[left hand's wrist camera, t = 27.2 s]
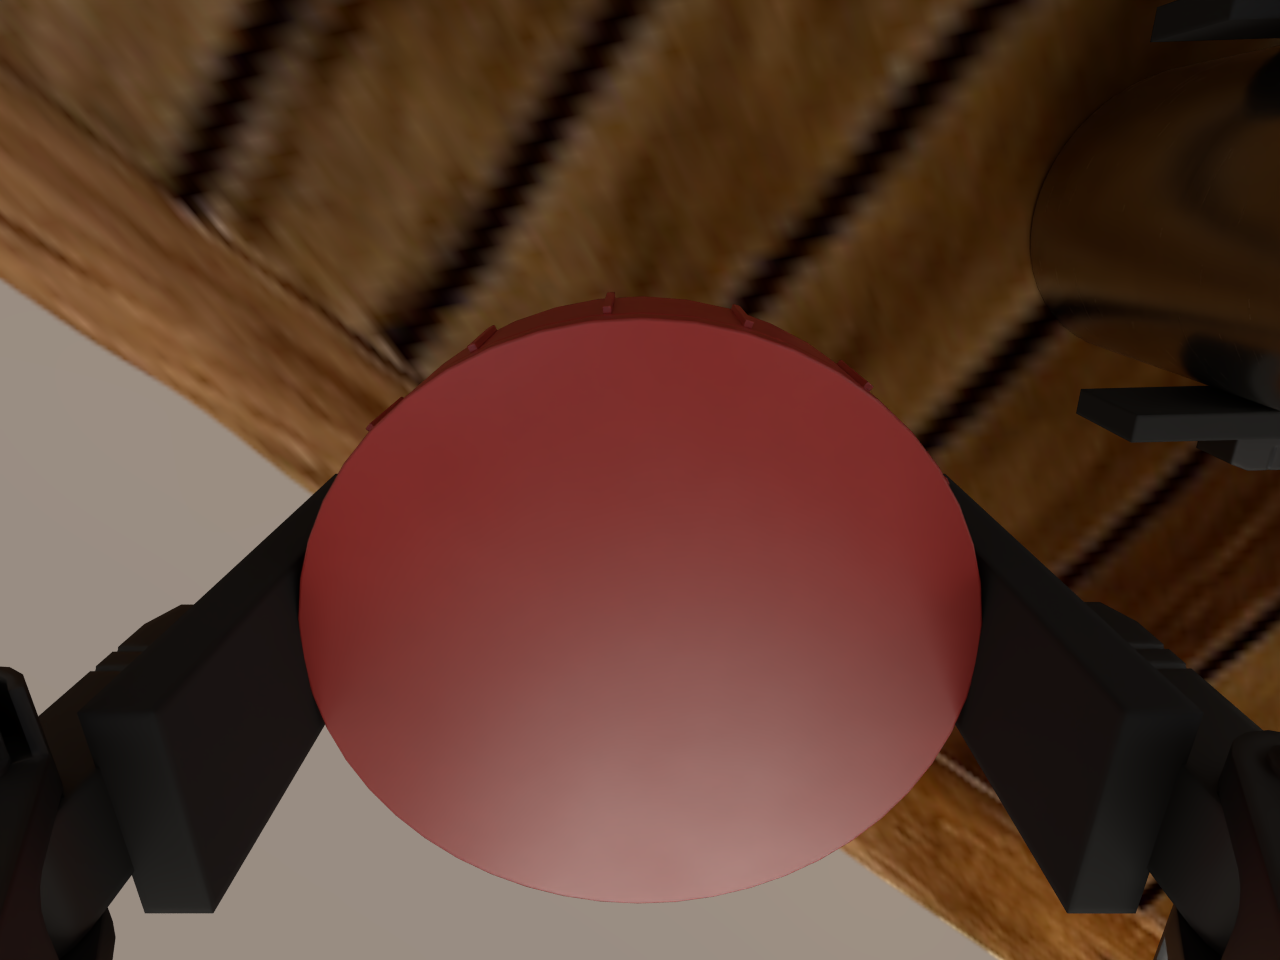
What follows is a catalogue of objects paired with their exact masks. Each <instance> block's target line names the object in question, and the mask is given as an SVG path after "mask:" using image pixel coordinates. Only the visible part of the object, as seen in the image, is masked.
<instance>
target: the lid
mask: <svg viewBox="0 0 1280 960" xmlns="http://www.w3.org/2000/svg"><path fill="white" fill-rule="evenodd" d="M872 388H873V386H872V385H871V384H870V383H869V382H867V381H866V380H865V379H864V378H863V377H861V376H860V375H859V374H858V373H857V372H855V371H854V370H853V369H852V368H850V367H849V366H848V365H847V364H846V363H844V362H843V361H842V360H840V361H839V362H838V363H837V364H836V363H835V362H833V361H832V360H830V359H829V358H828V357H826V356H825V355H824V354H822V353H821V352H819V351H818V350H817V349H815V348H814V347H812V346H811V345H810V344H808V343H807V342H805V341H803V340H801V339H799V338H797V337H795V336H793V335H791V334H789V333H788V332H786V331H784V330H782V329H780V328H778V327H776V326H774V325H772V324H770V323H768V322H765V321H762V320H759V319H757V318H754V317H751V316H748V315H747V314H746V313H745V312H744V310H743V309H742V308H741V307H740V306H738V305H734V304H733V305H732V308H731V309H728V308H723V307H719V306H714V305H709V304H705V303H700V302H695V301H690V300H684V299H670V298H657V297H643V296H642V297H625V298H615V292H608V293H607V295H606V298H605V299H596V300H591V301H586V302H581V303H576V304H571V305H566V306H561V307H556V308H553V309H550V310H547V311H544V312H541V313H538V314H535V315H532V316H529V317H526V318H523V319H521V320H518V321H515V322H513V323H511V324H509V325H507V326H505V327H503V328H501V329H499V330H497V329H496V327H495V325H493V326H491V327H489V328H487V329H486V330H485V331H484V332H483V333H482V334H481V335H480V336H478V337H477V338H476V339H475V340H474V341H473V342H472V343H471V344H469V345H468V346H467V348H466V349H464V350H463V351H461V352H460V353H458V354H457V355H455V356H454V357H453V358H451V359H450V360H448V361H447V362H445V363H444V364H443V365H442V366H440V367H439V368H438V369H437V370H436V371H435V372H433V373H432V374H431V375H430V376H429V377H428V378H427V379H425V380H424V381H423V382H422V383H421V384H420V385H418V386H417V387H416V388H415V389H414V390H413V391H412V392H410V393H409V394H408V395H407V396H406V397H405V398H403V397H400V398H399V399H398V400H397V401H396V402H395V403H393V404H392V405H391V406H390V407H389V408H387V409H386V410H385V411H384V412H383V413H382V414H380V415H379V416H378V417H377V418H376V419H375V420H373V421H372V422H371V423H370V424H369V425H368V426H367V428H366V430H368V431H369V432H368V434H367V435H366V436H365V437H364V439H363V440H362V441H361V442H360V444H359V445H358V446H357V448H356V449H355V450H354V451H353V453H352V454H351V455H350V456H349V458H348V459H347V460H346V461H345V463H344V464H343V466H342V468H341V469H340V471H339V473H338V475H337V477H336V478H335V480H334V482H333V484H332V485H331V487H330V489H329V491H328V492H327V494H326V496H325V498H324V499H323V501H322V504H321V507H320V509H319V512H318V515H317V517H316V520H315V523H314V525H313V528H312V531H311V533H310V536H309V539H308V543H307V548H306V553H305V558H304V563H303V567H302V572H301V577H300V594H299V616H298V620H299V629H300V636H301V642H302V647H303V653H304V659H305V663H306V668H307V673H308V677H309V682H310V687H311V691H312V694H313V697H314V699H315V701H316V704H317V706H318V708H319V711H320V713H321V715H322V718H323V720H324V722H325V725H326V727H327V729H328V731H329V732H330V734H331V736H332V737H333V739H334V741H335V742H336V744H337V746H338V747H339V749H340V751H341V752H342V754H343V756H344V757H345V759H346V761H347V762H348V763H349V764H350V766H351V767H352V768H353V769H354V771H355V772H356V773H357V774H358V776H359V777H360V778H361V779H362V781H363V782H364V783H365V785H366V786H367V787H368V788H369V789H370V790H371V791H372V792H373V793H374V794H375V795H376V796H377V797H378V798H379V799H380V800H381V801H382V802H383V803H384V804H385V805H386V806H387V807H388V808H389V809H390V810H391V811H392V812H393V813H394V814H395V815H396V816H397V817H399V818H400V819H401V820H402V821H404V822H405V823H406V824H408V825H409V826H410V827H411V828H413V829H414V830H415V831H417V832H418V833H419V834H420V835H422V836H423V837H424V838H426V839H427V840H429V841H430V842H432V843H434V844H435V845H437V846H439V847H440V848H442V849H444V850H445V851H447V852H448V853H450V854H452V855H453V856H455V857H457V858H458V859H461V860H463V861H465V862H467V863H469V864H471V865H473V866H475V867H477V868H480V869H482V870H484V871H486V872H488V873H490V874H493V875H495V876H498V877H501V878H504V879H506V880H509V881H512V882H515V883H518V884H520V885H523V886H526V887H530V888H534V889H538V890H542V891H546V892H550V893H554V894H558V895H562V896H568V897H575V898H581V899H588V900H595V901H603V902H622V903H658V902H678V901H685V900H692V899H699V898H707V897H714V896H718V895H722V894H726V893H731V892H735V891H739V890H743V889H747V888H751V887H754V886H757V885H760V884H763V883H766V882H769V881H772V880H774V879H777V878H780V877H783V876H786V875H788V874H790V873H792V872H795V871H797V870H799V869H801V868H803V867H805V866H808V865H810V864H812V863H814V862H816V861H818V860H820V859H822V858H824V857H825V856H827V855H829V854H830V853H832V852H834V851H835V850H837V849H839V848H840V847H842V846H844V845H845V844H847V843H849V842H851V841H852V840H853V839H855V838H856V837H857V836H859V835H860V834H861V833H863V832H864V831H865V830H867V829H868V828H869V827H871V826H872V825H873V824H875V823H876V822H877V821H879V820H880V819H881V818H882V817H883V816H884V815H885V814H886V813H888V812H889V811H890V810H891V809H892V808H893V807H894V806H895V805H896V804H897V803H898V802H899V801H900V800H901V799H902V798H903V797H904V796H905V795H906V794H907V793H908V792H909V791H910V790H911V789H912V787H913V786H914V785H915V784H916V783H917V781H918V780H919V779H920V778H921V776H922V775H923V774H924V773H925V772H926V770H927V769H928V768H929V767H930V765H931V764H932V763H933V761H934V760H935V758H936V756H937V755H938V753H939V751H940V750H941V748H942V747H943V745H944V743H945V742H946V740H947V739H948V737H949V735H950V734H951V732H952V730H953V728H954V725H955V723H956V721H957V719H958V717H959V714H960V712H961V710H962V708H963V705H964V703H965V701H966V699H967V695H968V692H969V688H970V685H971V680H972V676H973V671H974V666H975V662H976V656H977V651H978V645H979V640H980V634H981V627H982V607H981V581H980V576H979V571H978V565H977V560H976V554H975V549H974V544H973V541H972V538H971V535H970V533H969V530H968V527H967V524H966V521H965V519H964V516H963V513H962V510H961V507H960V505H959V503H958V501H957V499H956V497H955V496H954V494H953V492H952V490H951V488H950V486H949V482H948V480H947V478H946V477H945V476H944V475H943V473H942V472H941V470H940V468H939V467H938V465H937V464H936V463H935V461H934V460H933V459H932V457H931V456H930V455H929V453H928V452H927V451H926V450H925V448H924V447H923V446H922V444H921V443H920V442H919V440H918V439H917V438H916V436H915V435H914V434H913V433H912V431H911V430H910V429H908V428H907V427H906V426H905V425H904V424H903V423H902V422H901V421H900V420H899V419H898V418H897V417H896V416H895V415H894V414H893V413H892V412H891V411H890V410H889V409H888V408H887V407H886V406H885V405H884V404H883V403H882V402H880V401H879V400H878V399H877V398H876V397H875V396H874V395H873V394H871V393H870V392H869V391H870V390H871V389H872Z"/></svg>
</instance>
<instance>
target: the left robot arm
mask: <svg viewBox="0 0 1280 960" xmlns="http://www.w3.org/2000/svg"><path fill="white" fill-rule="evenodd" d="M337 475H338V474H335V475H334V476H333V477H332V478H331V479H330V480H328V481H327V482H326V483H325V484H324V485H323V486H322V487H321V488H320V489H319V490H318V491H317V492H315V493H314V494H313V495H312V496H311V497H310V498H309V499H308V500H307V501H306V502H305V503H304V504H303V505H301V506H300V507H299V508H298V509H297V510H296V511H295V512H294V513H293V514H292V515H291V516H290V517H289V518H287V519H286V520H285V521H284V522H283V523H282V524H281V525H280V526H279V527H278V528H277V529H275V530H274V531H273V532H272V533H271V534H270V535H269V536H268V537H267V538H266V539H265V540H263V541H262V542H261V543H260V544H259V545H258V546H257V547H256V548H255V549H254V550H253V551H252V552H250V553H249V554H248V555H247V556H246V557H245V558H244V559H243V560H242V561H241V562H240V563H239V564H237V565H236V566H235V567H234V568H233V569H232V570H231V571H230V572H229V573H228V574H227V575H226V576H224V577H223V578H222V579H221V580H220V581H219V582H218V583H217V584H216V585H215V586H214V587H213V588H211V589H210V590H209V591H208V592H207V593H206V594H205V595H204V596H203V597H202V598H201V599H200V600H198V601H197V602H196V603H195V604H194V605H180V606H178V607H176V608H174V609H172V610H170V611H168V612H166V613H165V614H163V615H161V616H159V617H157V618H155V619H153V620H151V621H149V622H148V623H146V624H144V625H143V626H142V627H141V628H139V629H138V630H137V631H136V632H135V633H134V634H133V635H131V636H130V637H129V638H128V639H127V640H126V641H125V642H123V643H122V644H121V645H120V646H119V647H118V651H117V652H112V653H111V654H110V655H108V656H107V657H106V658H105V659H104V660H103V661H102V662H100V663H99V664H98V665H97V666H96V670H95V671H90V672H89V673H88V674H87V675H85V676H84V677H83V678H82V679H81V680H80V681H79V682H77V683H76V684H75V685H74V686H73V687H72V688H70V689H69V690H68V691H67V692H66V693H65V694H64V695H63V696H61V697H60V698H59V699H58V700H57V701H56V702H54V703H53V704H52V705H51V706H50V707H49V708H47V709H46V710H45V711H44V712H43V713H42V714H41V715H39V716H38V715H37V712H36V709H35V706H34V704H33V701H32V698H31V695H30V693H29V690H28V687H27V685H26V682H25V679H24V676H23V674H21V673H19V672H17V671H16V670H14V669H12V668H10V667H0V960H112V959H113V952H114V945H115V932H114V926H113V921H112V918H111V915H110V913H109V910H108V906H109V905H110V903H111V902H112V901H113V899H114V898H115V897H116V895H117V894H118V893H119V891H120V890H121V889H122V887H123V886H124V884H125V883H126V882H127V880H128V879H129V878H130V876H131V875H132V876H133V879H134V882H135V885H136V888H137V891H138V894H139V897H140V900H141V903H142V906H143V909H144V912H145V913H214V911H215V909H216V908H217V906H218V904H219V903H220V901H221V899H222V897H223V896H224V894H225V892H226V891H227V889H228V887H229V886H230V884H231V882H232V881H233V879H234V877H235V876H236V874H237V872H238V871H239V869H240V867H241V865H242V864H243V862H244V860H245V859H246V857H247V855H248V854H249V852H250V850H251V849H252V847H253V845H254V843H255V842H256V840H257V838H258V837H259V835H260V833H261V832H262V830H263V828H264V827H265V825H266V823H267V822H268V820H269V818H270V816H271V815H272V813H273V811H274V810H275V808H276V806H277V805H278V803H279V801H280V800H281V798H282V796H283V795H284V793H285V791H286V789H287V788H288V786H289V784H290V783H291V781H292V779H293V778H294V776H295V774H296V773H297V771H298V769H299V767H300V766H301V764H302V762H303V761H304V759H305V757H306V756H307V754H308V752H309V751H310V749H311V747H312V746H313V744H314V742H315V741H316V739H317V737H318V735H319V734H320V732H321V730H322V729H323V727H324V725H325V722H324V720H323V718H322V715H321V713H320V711H319V708H318V706H317V704H316V701H315V699H314V697H313V694H312V691H311V687H310V682H309V677H308V673H307V668H306V663H305V659H304V653H303V647H302V642H301V636H300V629H299V620H298V616H299V594H300V577H301V572H302V567H303V563H304V558H305V553H306V548H307V543H308V539H309V536H310V533H311V531H312V528H313V525H314V523H315V520H316V517H317V515H318V512H319V509H320V507H321V504H322V501H323V499H324V498H325V496H326V494H327V492H328V491H329V489H330V487H331V485H332V484H333V482H334V480H335V478H336V477H337ZM943 475H944V476H945V477H946V478H947V480H948V482H949V486H950V488H951V490H952V492H953V494H954V496H955V497H956V499H957V501H958V503H959V505H960V507H961V510H962V513H963V516H964V519H965V521H966V524H967V527H968V530H969V533H970V535H971V538H972V541H973V544H974V549H975V554H976V560H977V565H978V571H979V576H980V581H981V607H982V627H981V634H980V640H979V645H978V651H977V656H976V662H975V666H974V671H973V676H972V680H971V685H970V688H969V692H968V695H967V699H966V701H965V703H964V705H963V708H962V710H961V712H960V714H959V717H958V719H957V721H956V723H955V725H956V726H957V728H958V730H959V731H960V733H961V735H962V736H963V738H964V740H965V741H966V743H967V745H968V747H969V748H970V750H971V752H972V753H973V755H974V757H975V758H976V760H977V762H978V763H979V765H980V767H981V768H982V770H983V772H984V774H985V775H986V777H987V779H988V780H989V782H990V784H991V785H992V787H993V789H994V790H995V792H996V794H997V795H998V797H999V799H1000V801H1001V802H1002V804H1003V806H1004V807H1005V809H1006V811H1007V812H1008V814H1009V816H1010V817H1011V819H1012V821H1013V822H1014V824H1015V826H1016V828H1017V829H1018V831H1019V833H1020V834H1021V836H1022V838H1023V839H1024V841H1025V843H1026V844H1027V846H1028V848H1029V849H1030V851H1031V853H1032V855H1033V856H1034V858H1035V860H1036V861H1037V863H1038V865H1039V866H1040V868H1041V870H1042V871H1043V873H1044V875H1045V876H1046V878H1047V880H1048V882H1049V883H1050V885H1051V887H1052V888H1053V890H1054V892H1055V893H1056V895H1057V897H1058V898H1059V900H1060V902H1061V903H1062V905H1063V907H1064V909H1065V910H1066V912H1067V913H1136V911H1137V908H1138V905H1139V902H1140V899H1141V896H1142V893H1143V890H1144V887H1145V884H1146V881H1147V878H1148V875H1149V872H1150V873H1151V874H1152V876H1153V877H1154V878H1155V880H1156V881H1157V882H1158V884H1159V885H1160V886H1161V888H1162V889H1163V890H1164V892H1165V893H1166V894H1167V896H1168V897H1169V898H1170V900H1171V901H1172V902H1173V907H1172V910H1171V913H1170V915H1169V918H1168V921H1167V923H1166V926H1165V929H1164V932H1163V934H1162V937H1161V940H1160V943H1159V945H1158V948H1157V951H1156V954H1155V956H1154V959H1153V960H1280V732H1276V731H1270V730H1265V731H1263V730H1262V729H1261V728H1260V727H1258V726H1257V725H1256V724H1255V723H1254V722H1253V721H1251V720H1250V719H1249V718H1248V717H1247V716H1246V715H1244V714H1243V713H1242V712H1241V711H1240V710H1239V709H1238V708H1236V707H1235V706H1234V705H1233V704H1232V703H1231V702H1229V701H1228V700H1227V699H1226V698H1225V697H1224V696H1222V695H1221V694H1220V693H1219V692H1218V691H1217V690H1215V689H1214V688H1213V687H1212V686H1211V685H1210V684H1209V683H1207V682H1206V681H1205V680H1204V679H1203V678H1202V677H1200V676H1199V675H1198V674H1197V673H1196V672H1195V671H1193V670H1192V669H1186V666H1185V665H1186V664H1185V663H1184V662H1183V661H1182V660H1181V659H1180V658H1178V657H1177V656H1176V655H1175V654H1174V653H1173V652H1171V651H1170V650H1169V649H1164V647H1163V644H1162V643H1161V642H1160V641H1159V640H1158V639H1156V638H1155V637H1154V636H1153V635H1152V634H1151V633H1149V632H1148V631H1147V630H1146V629H1145V628H1144V627H1143V626H1141V625H1140V624H1139V623H1138V622H1137V621H1135V620H1133V619H1131V618H1129V617H1127V616H1125V615H1123V614H1121V613H1120V612H1118V611H1116V610H1114V609H1112V608H1110V607H1108V606H1106V605H1104V604H1102V603H1101V602H1083V601H1082V600H1081V599H1080V598H1079V597H1078V596H1077V595H1076V594H1075V593H1073V592H1072V591H1071V590H1070V589H1069V588H1068V587H1067V586H1066V585H1065V584H1064V583H1063V582H1062V581H1060V580H1059V579H1058V578H1057V577H1056V576H1055V575H1054V574H1053V573H1052V572H1051V571H1050V570H1049V569H1047V568H1046V567H1045V566H1044V565H1043V564H1042V563H1041V562H1040V561H1039V560H1038V559H1037V558H1035V557H1034V556H1033V555H1032V554H1031V553H1030V552H1029V551H1028V550H1027V549H1026V548H1025V547H1024V546H1022V545H1021V544H1020V543H1019V542H1018V541H1017V540H1016V539H1015V538H1014V537H1013V536H1012V535H1011V534H1009V533H1008V532H1007V531H1006V530H1005V529H1004V528H1003V527H1002V526H1001V525H1000V524H999V523H998V522H996V521H995V520H994V519H993V518H992V517H991V516H990V515H989V514H988V513H987V512H986V511H985V510H983V509H982V508H981V507H980V506H979V505H978V504H977V503H976V502H975V501H974V500H973V499H972V498H970V497H969V496H968V495H967V494H966V493H965V492H964V491H963V490H962V489H961V488H960V487H959V486H957V485H956V484H955V483H954V482H953V481H952V480H951V479H950V478H949V477H948V476H947V475H946V474H943Z"/></svg>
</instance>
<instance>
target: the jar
mask: <svg viewBox="0 0 1280 960" xmlns="http://www.w3.org/2000/svg"><path fill="white" fill-rule="evenodd" d="M1031 260H1032V267H1033V273H1034V276H1035V280H1036V283H1037V287H1038V289H1039V291H1040V293H1041V296H1042V298H1043V300H1044V302H1045V304H1046V305H1047V307H1048V308H1049V310H1050V311H1051V313H1052V314H1053V315H1054V316H1055V318H1056V319H1057V320H1058V321H1059V322H1060V323H1061V324H1062V325H1063V326H1064V327H1065V328H1067V329H1068V330H1069V331H1070V332H1072V333H1073V334H1074V335H1076V336H1077V337H1079V338H1081V339H1083V340H1085V341H1087V342H1088V343H1091V344H1094V345H1096V346H1099V347H1102V348H1105V349H1107V350H1110V351H1113V352H1116V353H1119V354H1122V355H1124V356H1127V357H1130V358H1133V359H1136V360H1138V361H1141V362H1144V363H1147V364H1150V365H1153V366H1155V367H1158V368H1161V369H1164V370H1167V371H1170V372H1172V373H1175V374H1178V375H1181V376H1184V377H1186V378H1189V379H1192V380H1195V381H1198V382H1201V383H1203V384H1206V385H1209V386H1212V387H1215V388H1217V389H1220V390H1223V391H1226V392H1229V393H1232V394H1234V395H1237V396H1240V397H1243V398H1246V399H1248V400H1251V401H1254V402H1257V403H1260V404H1263V405H1265V406H1268V407H1271V408H1274V409H1277V410H1279V411H1280V45H1279V46H1274V47H1270V48H1265V49H1261V50H1256V51H1251V52H1247V53H1242V54H1238V55H1233V56H1229V57H1224V58H1220V59H1215V60H1211V61H1206V62H1202V63H1197V64H1193V65H1188V66H1184V67H1179V68H1175V69H1170V70H1166V71H1164V72H1161V73H1158V74H1155V75H1152V76H1150V77H1147V78H1145V79H1143V80H1141V81H1139V82H1137V83H1135V84H1133V85H1131V86H1129V87H1128V88H1126V89H1125V90H1123V91H1121V92H1120V93H1118V94H1117V95H1115V96H1114V97H1112V98H1111V99H1110V100H1108V101H1107V102H1106V103H1105V104H1103V105H1102V106H1101V107H1100V108H1099V109H1097V110H1096V111H1095V112H1094V113H1093V114H1092V115H1091V116H1090V117H1089V118H1088V119H1087V120H1086V121H1085V122H1084V123H1083V124H1082V125H1081V126H1080V127H1079V128H1078V129H1077V131H1076V132H1075V133H1074V134H1073V135H1072V137H1071V138H1070V139H1069V140H1068V142H1067V143H1066V144H1065V146H1064V147H1063V149H1062V150H1061V152H1060V153H1059V155H1058V157H1057V158H1056V160H1055V161H1054V163H1053V165H1052V167H1051V169H1050V171H1049V173H1048V175H1047V177H1046V179H1045V181H1044V183H1043V186H1042V189H1041V191H1040V194H1039V197H1038V200H1037V204H1036V208H1035V212H1034V216H1033V221H1032V229H1031Z"/></svg>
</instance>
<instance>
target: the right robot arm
mask: <svg viewBox="0 0 1280 960" xmlns="http://www.w3.org/2000/svg"><path fill="white" fill-rule="evenodd" d="M1263 38H1280V0H1177V1H1174V2H1171V3H1168V4H1166V5H1163V6H1160V7H1157V11H1156V16H1155V21H1154V26H1153V31H1152V36H1151V41H1150V42H1169V41H1200V40H1231V39H1263ZM1076 413H1077V414H1078V415H1080V416H1082V417H1084V418H1086V419H1088V420H1090V421H1092V422H1094V423H1096V424H1097V425H1099V426H1101V427H1103V428H1105V429H1107V430H1109V431H1111V432H1113V433H1114V434H1116V435H1118V436H1120V437H1122V438H1124V439H1126V440H1128V441H1130V442H1168V441H1198V443H1197V447H1196V448H1198V449H1200V450H1203V451H1205V452H1207V453H1209V454H1211V455H1213V456H1215V457H1217V458H1219V459H1221V460H1224V461H1226V462H1228V463H1230V464H1232V465H1235V466H1237V467H1240V468H1242V469H1245V470H1267V469H1269V470H1280V411H1279V410H1277V409H1274V408H1271V407H1268V406H1265V405H1263V404H1260V403H1257V402H1254V401H1251V400H1248V399H1246V398H1243V397H1240V396H1237V395H1234V394H1232V393H1229V392H1226V391H1223V390H1220V389H1217V388H1215V387H1212V386H1181V387H1142V388H1102V389H1081V392H1080V397H1079V402H1078V407H1077V412H1076Z"/></svg>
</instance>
